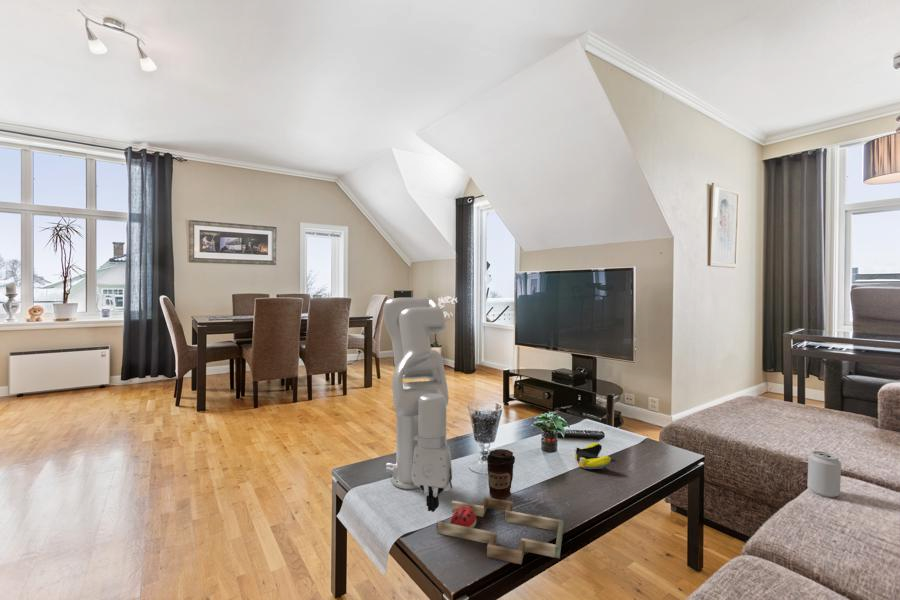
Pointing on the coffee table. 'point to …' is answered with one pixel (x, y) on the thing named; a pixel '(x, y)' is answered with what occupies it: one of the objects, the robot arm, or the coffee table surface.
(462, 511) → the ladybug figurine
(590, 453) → the banana bunch
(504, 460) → the coffee cup
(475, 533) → the trap channel
